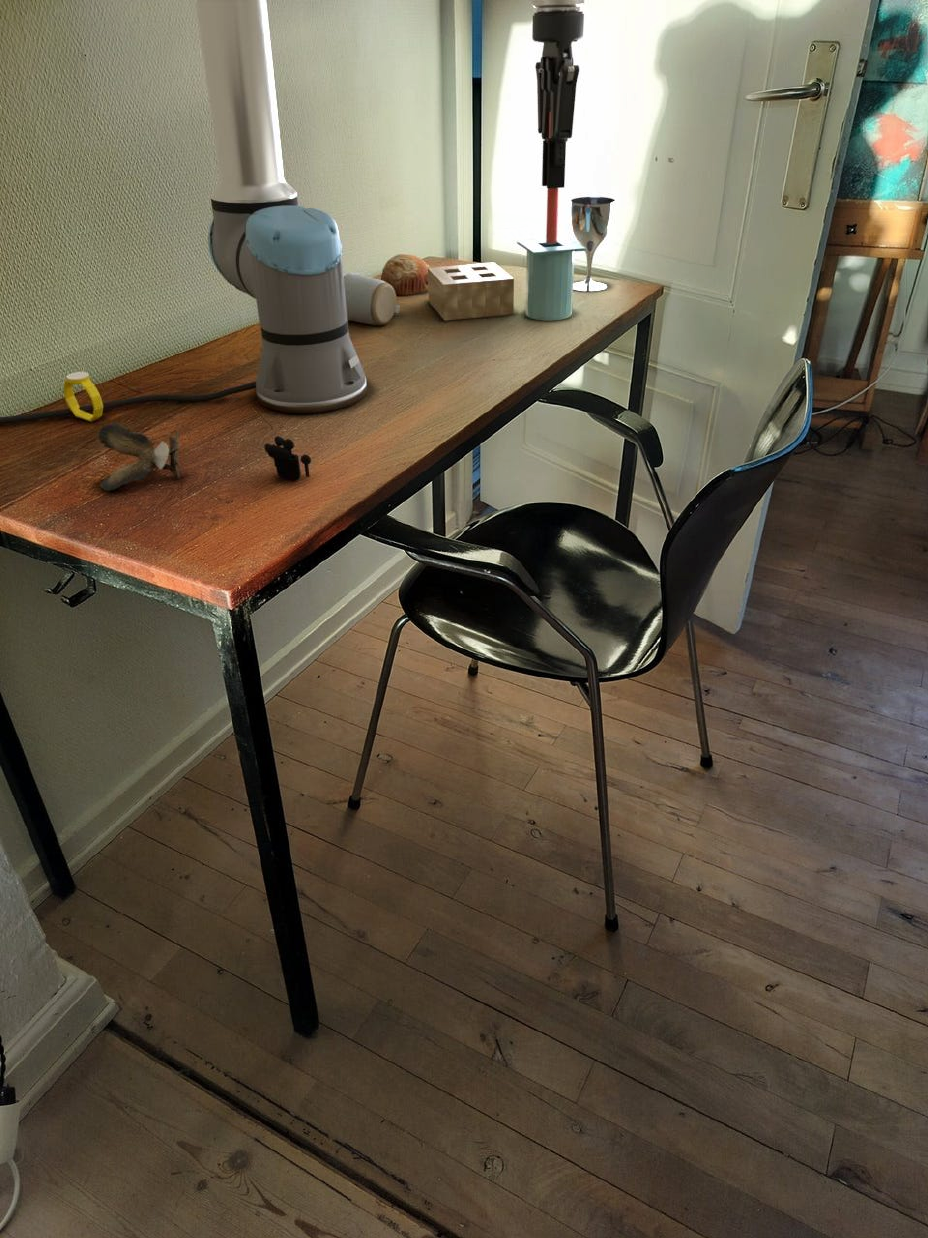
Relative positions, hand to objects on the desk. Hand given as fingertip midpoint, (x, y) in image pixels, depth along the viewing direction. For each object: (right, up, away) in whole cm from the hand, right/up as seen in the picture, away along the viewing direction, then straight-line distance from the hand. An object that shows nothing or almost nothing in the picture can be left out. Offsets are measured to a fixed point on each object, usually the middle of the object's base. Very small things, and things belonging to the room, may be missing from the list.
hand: (553, 185), depth 145 cm
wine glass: (+9, -7, +26) cm, 28 cm away
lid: (0, -8, +5) cm, 9 cm away
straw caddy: (-13, -14, +15) cm, 25 cm away
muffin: (-25, -6, +28) cm, 38 cm away
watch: (-65, -43, -24) cm, 81 cm away
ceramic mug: (-30, -18, +11) cm, 37 cm away
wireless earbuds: (-35, -54, -41) cm, 76 cm away
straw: (0, -7, +5) cm, 8 cm away
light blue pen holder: (0, -17, +11) cm, 20 cm away
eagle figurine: (-51, -54, -41) cm, 85 cm away
